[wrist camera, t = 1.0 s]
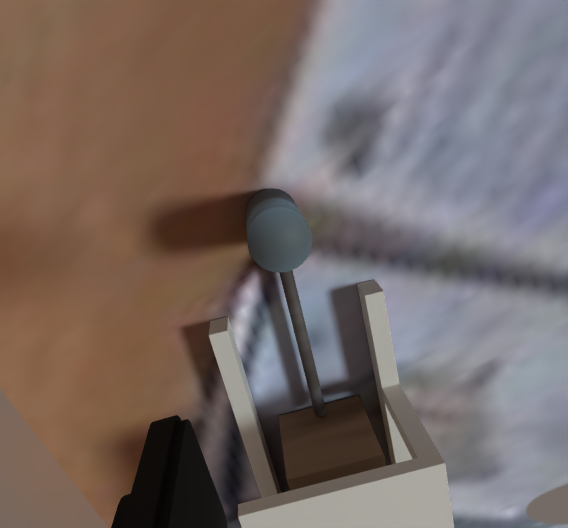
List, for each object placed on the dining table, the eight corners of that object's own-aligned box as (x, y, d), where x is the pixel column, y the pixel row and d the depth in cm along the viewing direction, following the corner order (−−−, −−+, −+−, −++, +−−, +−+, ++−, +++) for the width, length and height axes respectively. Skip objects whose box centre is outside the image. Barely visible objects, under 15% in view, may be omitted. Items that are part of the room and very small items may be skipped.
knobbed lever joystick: (217, 201, 28) (212, 226, 22) (313, 177, 28) (333, 195, 22) (298, 489, 36) (310, 561, 30) (374, 469, 36) (400, 538, 30)
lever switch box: (210, 321, 31) (199, 408, 22) (374, 279, 31) (429, 349, 22) (271, 512, 36) (282, 641, 28) (409, 476, 37) (463, 593, 28)
